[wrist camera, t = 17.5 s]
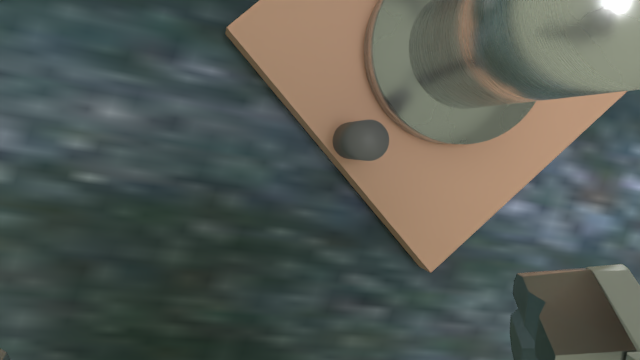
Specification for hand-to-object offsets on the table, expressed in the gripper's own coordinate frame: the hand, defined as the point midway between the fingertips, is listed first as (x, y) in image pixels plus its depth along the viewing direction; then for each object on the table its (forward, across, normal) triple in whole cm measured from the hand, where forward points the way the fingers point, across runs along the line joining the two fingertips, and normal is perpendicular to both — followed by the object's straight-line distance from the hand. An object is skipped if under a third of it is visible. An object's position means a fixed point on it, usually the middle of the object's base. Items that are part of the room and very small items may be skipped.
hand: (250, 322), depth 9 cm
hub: (+19, -6, +4) cm, 20 cm away
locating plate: (+20, -6, +4) cm, 22 cm away
